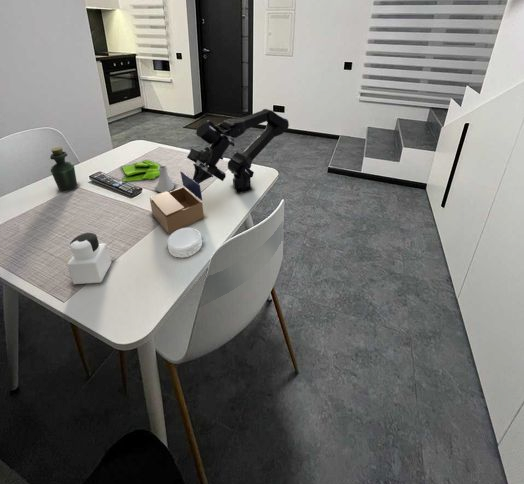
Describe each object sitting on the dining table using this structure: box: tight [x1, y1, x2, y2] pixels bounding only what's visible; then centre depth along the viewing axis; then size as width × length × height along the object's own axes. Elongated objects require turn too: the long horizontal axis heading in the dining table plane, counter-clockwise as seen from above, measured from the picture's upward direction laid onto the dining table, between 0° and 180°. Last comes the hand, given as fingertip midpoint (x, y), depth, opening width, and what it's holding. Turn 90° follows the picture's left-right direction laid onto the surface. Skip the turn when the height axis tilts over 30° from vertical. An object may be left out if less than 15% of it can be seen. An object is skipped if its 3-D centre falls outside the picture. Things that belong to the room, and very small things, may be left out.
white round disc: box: [167, 226, 203, 259], centre depth 87 cm, size 10×10×4 cm
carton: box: [149, 186, 205, 235], centre depth 101 cm, size 13×14×7 cm
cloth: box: [121, 159, 161, 182], centre depth 134 cm, size 20×22×2 cm
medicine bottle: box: [66, 232, 112, 285], centre depth 76 cm, size 7×7×12 cm
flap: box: [180, 170, 203, 202], centre depth 102 cm, size 6×14×1 cm
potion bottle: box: [49, 146, 78, 193], centre depth 117 cm, size 8×8×18 cm
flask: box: [155, 165, 175, 193], centre depth 118 cm, size 7×7×10 cm
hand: (192, 186), depth 103 cm, fingers closed, pressing on flap
